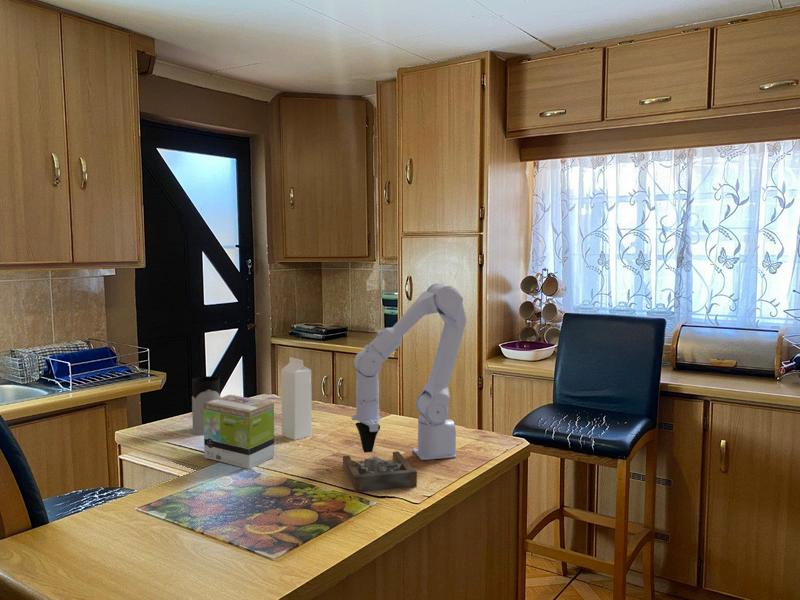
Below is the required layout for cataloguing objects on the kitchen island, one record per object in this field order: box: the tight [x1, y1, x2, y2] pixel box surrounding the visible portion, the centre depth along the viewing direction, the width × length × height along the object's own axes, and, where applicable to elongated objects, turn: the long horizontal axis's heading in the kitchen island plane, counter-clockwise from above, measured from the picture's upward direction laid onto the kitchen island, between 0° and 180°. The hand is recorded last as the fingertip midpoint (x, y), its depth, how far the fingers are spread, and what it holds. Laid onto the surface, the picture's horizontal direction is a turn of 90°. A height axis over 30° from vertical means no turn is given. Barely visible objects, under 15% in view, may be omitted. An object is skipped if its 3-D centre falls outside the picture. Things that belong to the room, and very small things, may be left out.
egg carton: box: [351, 455, 402, 474], centre depth 149 cm, size 11×8×4 cm
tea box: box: [203, 394, 275, 470], centre depth 160 cm, size 15×10×15 cm, turn 62°
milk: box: [280, 357, 313, 441], centre depth 178 cm, size 6×6×22 cm
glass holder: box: [190, 375, 222, 436], centre depth 185 cm, size 9×14×15 cm, turn 28°
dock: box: [342, 451, 418, 493], centre depth 149 cm, size 14×16×4 cm
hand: (367, 451), depth 161 cm, fingers closed
